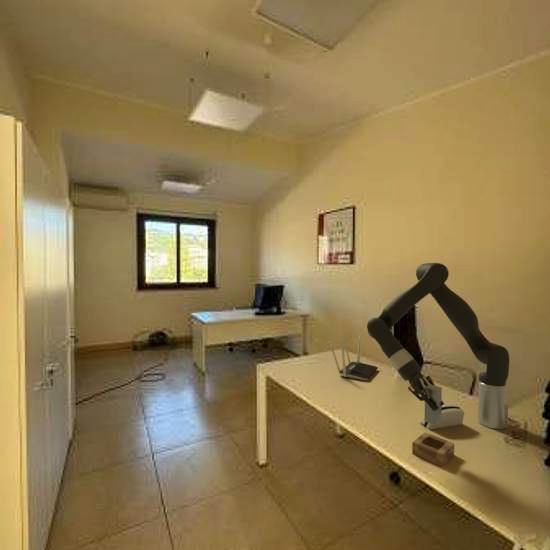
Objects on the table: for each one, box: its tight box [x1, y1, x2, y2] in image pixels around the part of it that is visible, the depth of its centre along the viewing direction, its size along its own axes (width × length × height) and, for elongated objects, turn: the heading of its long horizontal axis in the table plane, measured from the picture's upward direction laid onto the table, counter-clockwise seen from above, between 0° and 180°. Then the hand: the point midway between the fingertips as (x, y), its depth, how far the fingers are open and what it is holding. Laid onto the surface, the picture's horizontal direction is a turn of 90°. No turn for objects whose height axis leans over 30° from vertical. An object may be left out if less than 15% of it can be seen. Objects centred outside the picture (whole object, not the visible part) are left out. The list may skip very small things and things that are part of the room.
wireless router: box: [329, 334, 379, 381], centre depth 195 cm, size 34×23×20 cm
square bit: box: [424, 384, 443, 426], centre depth 110 cm, size 4×4×12 cm
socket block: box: [411, 431, 455, 468], centre depth 110 cm, size 10×10×4 cm
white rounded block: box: [419, 403, 465, 430], centre depth 130 cm, size 17×5×10 cm, turn 104°
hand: (439, 407), depth 108 cm, fingers closed on square bit, 4 cm apart
